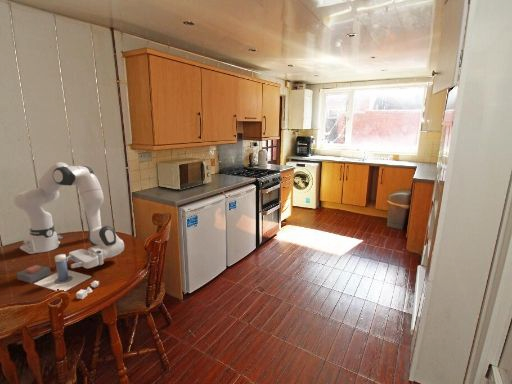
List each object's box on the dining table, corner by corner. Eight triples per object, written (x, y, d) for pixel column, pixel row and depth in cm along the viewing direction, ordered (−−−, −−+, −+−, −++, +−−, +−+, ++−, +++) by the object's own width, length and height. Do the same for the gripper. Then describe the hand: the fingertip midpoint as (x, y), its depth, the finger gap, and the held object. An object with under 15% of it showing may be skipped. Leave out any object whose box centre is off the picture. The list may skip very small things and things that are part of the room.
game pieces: (83, 299, 130) (82, 293, 129) (76, 299, 130) (75, 292, 130) (100, 285, 141) (100, 279, 141) (94, 284, 142) (93, 279, 141)
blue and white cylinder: (55, 280, 143) (52, 257, 140) (64, 276, 148) (61, 253, 145) (62, 282, 142) (59, 258, 139) (71, 278, 146) (67, 255, 143)
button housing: (17, 279, 144) (16, 273, 144) (38, 270, 154) (37, 264, 153) (30, 283, 141) (29, 276, 140) (51, 273, 150) (50, 267, 150)
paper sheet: (33, 284, 141) (33, 283, 141) (64, 269, 155) (64, 268, 155) (62, 292, 134) (62, 292, 134) (91, 276, 149) (91, 276, 149)
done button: (26, 274, 146) (25, 268, 145) (35, 270, 150) (34, 265, 149) (32, 275, 144) (31, 270, 144) (41, 271, 148) (40, 266, 148)
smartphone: (51, 240, 193) (41, 235, 200) (51, 241, 193) (41, 236, 200) (63, 236, 199) (52, 232, 206) (63, 238, 199) (52, 233, 207)
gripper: (84, 244, 161) (57, 252, 150) (103, 254, 150) (75, 263, 139) (86, 254, 162) (58, 263, 151) (104, 265, 151) (76, 275, 140)
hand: (66, 263), depth 145 cm, fingers open, 8 cm apart
